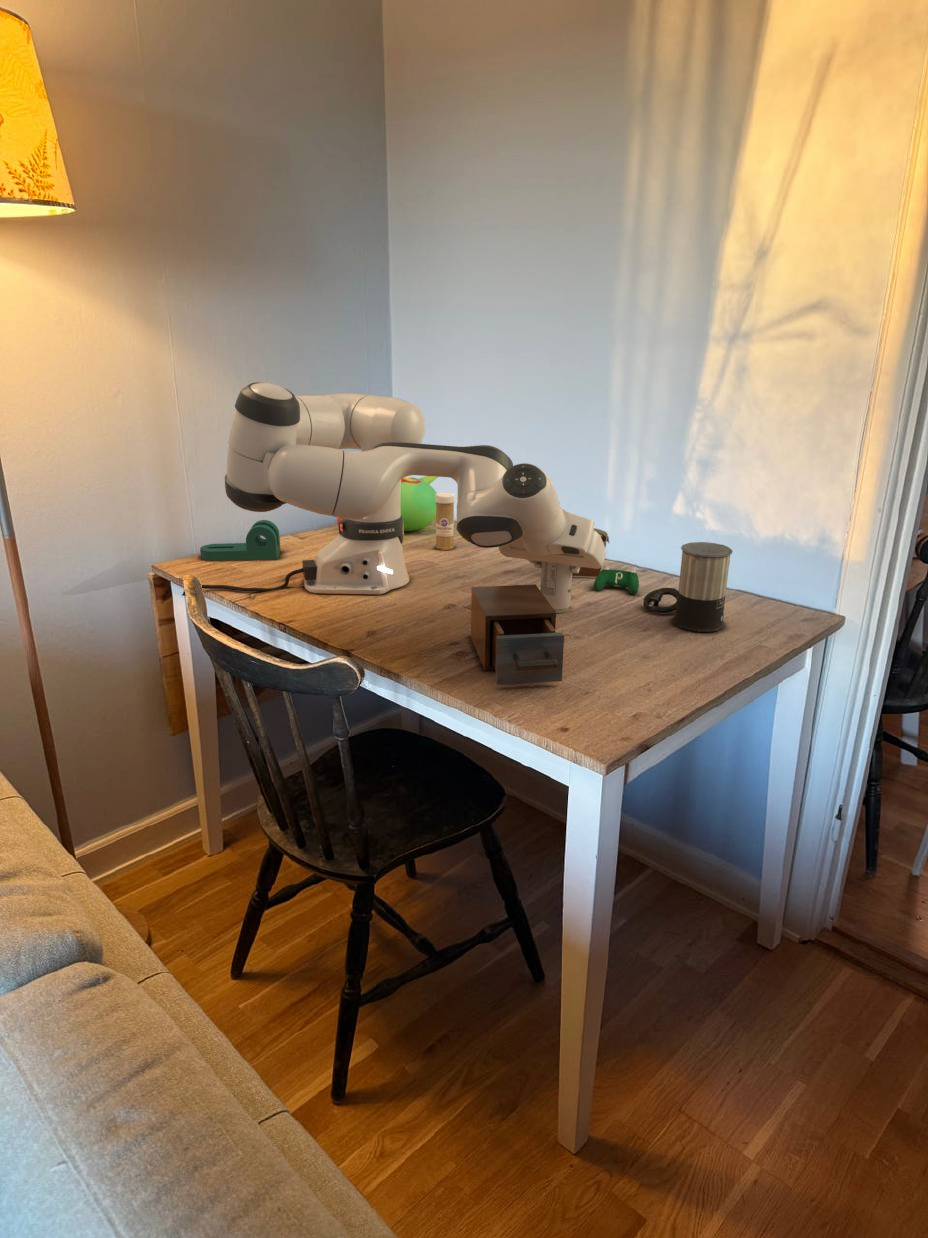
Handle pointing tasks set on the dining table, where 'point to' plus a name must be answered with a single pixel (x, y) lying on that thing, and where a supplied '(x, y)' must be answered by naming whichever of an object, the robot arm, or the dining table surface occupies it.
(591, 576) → the food container
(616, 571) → the gaming controller
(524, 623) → the drawer
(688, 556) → the milk frother
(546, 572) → the energy drink can
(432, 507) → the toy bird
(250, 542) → the bracket
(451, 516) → the sprinkles bottle
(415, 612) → the dining table surface
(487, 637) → the cabinet
